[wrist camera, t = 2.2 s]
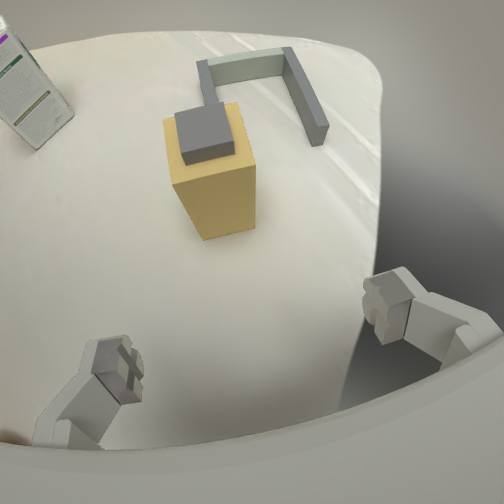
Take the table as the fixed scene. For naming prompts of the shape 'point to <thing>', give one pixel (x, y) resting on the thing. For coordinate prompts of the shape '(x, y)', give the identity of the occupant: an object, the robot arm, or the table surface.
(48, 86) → the syrup box
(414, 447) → the robot arm
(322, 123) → the holder
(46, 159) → the table surface
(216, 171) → the block
